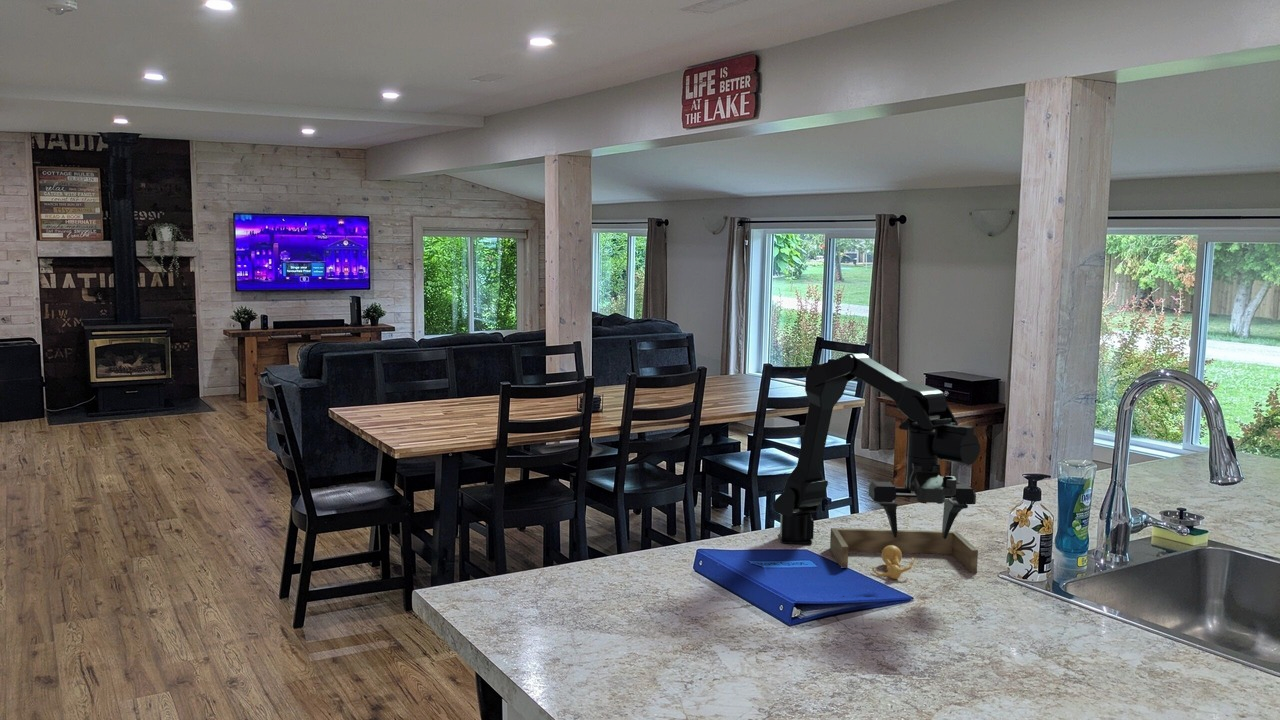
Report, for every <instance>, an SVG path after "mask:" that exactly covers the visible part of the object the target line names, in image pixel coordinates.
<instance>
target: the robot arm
mask: <svg viewBox="0 0 1280 720" xmlns="http://www.w3.org/2000/svg"><path fill="white" fill-rule="evenodd" d="M855 379H858V380H861V381H863V382H864V383H865V384H867V385H869V386H870V387H872V388H874V389H875V390H877V391H878V392H881V394H883V395H885V396H887V397H888V398H890V399H891V400H892V401H893V402H894V403H895V404H896V407H897V409H898V410H899V411H900V412H901V413H902V414H903V415H904V416H906V420H904V421H903V422H902V423H901V424H900V425H899V426H898V429H899V430H902V431H908V432H907V433H908V434H907V436H908V437H907V456H906V459H905V461H906V479H905V486H904V487H903V486H895V485H894V484H893V483H892V482H891V481H871V482H870V484H869V486H868V496H869V497H870V499H871V500H872V501H873V502H875V503H878V505H879V506H881V507H883V510H884V511H885V513H886V516H887V520H888V523H889V525H890V530H892V533H893V536H894V537H895V538H896V537H897V530H898V521H897V519H898V518H897V509H898V508H897V507H898V504H897V503H896V502H895V500H896V499H897V498H916V500H917V502H919V503H921V504H928V503H929V504H930V503H931V504H938V505H942V504H943V512H942V526H941V531H942V536H943V538H944V539H946V538H947V536H948V533H949V531H951V529H952V526H953V524H954V521H955V520H956V517H957V516H958V514H959V513H960V512H961V511H962V510H963V509H968V507H969V505H976V504H977V503H976V501H977V493H976V490H974V489H973V488H972V487H971V486H970V485H969V484H967V483H957V478H956V476H954V475H944V476H942V474H941V464H940V462H939V461H940V460H941V461H947V462H951V463H956V464H957V463H958V464H962V465H968V466H970V465H972V464H974V463H975V462H976V461H977V460H978V457H979V455H980V452H981V451H980V450H981V444H980V441H979V438H978V437H977V435H976V434H975V433H974V427H973V426H969V425H963V426H962V425H959V423H958V421H957V419H956V417H955V416H954V413H953V412H952V410H951V408H950V407H949V404H948V403H947V399H946V395H945V393H944V392H943V391H942V390H940V389H938V388H935V387H932V386H929V385H926V384H921V383H917V382H913V381H910V380H908V379H906V378H904V377H903V376H901V375H899V374H898V373H896V372H894V371H893V370H892V369H889V368H887V367H886V366H884V365H882V364H880V363H879V362H877V361H876V360H874V359H872V358H871V357H870V356H869V355H867V354H866V353H863V352H859V353H858V352H856V353H853V352H852V353H847V354H845V355H843V356H841V357H839V358H836V359H833V360H830V361H826V362H824V363H815V364H812V365H811V366H809V367H808V368H807V370H806V373H805V387H804V390H805V391H804V392H805V395H806V396H807V399H808V409H807V413H806V419H805V425H804V429H803V434H802V439H801V442H800V443H801V444H800V448H799V454H798V459H797V463H796V466H795V467H794V469H793V470H792V471H791V473H790V474H789V475H788V477H787V479H786V482H785V484H784V487H783V489H782V493H780V495H779V496H778V497H777V498H776V499H775V500H774V501H773V503H772V507H773V512H774V513H776V514H779V515H780V521H779V522H780V523H779V525H780V527H779V528H780V531H779V533H778V537H779V540H780V543H781V544H800V545H801V544H802V545H811V544H813V540H814V531H815V529H814V526H815V525H814V524H815V522H814V518H812V513H816V512H817V513H818V511H819V508H820V504H822V502H823V500H824V499H826V498H827V494H826V492H827V488H828V485H829V481H828V480H827V479H824V476H823V474H822V471H821V467H822V462H823V458H824V453H825V448H826V444H827V439H828V433H829V428H830V424H831V420H832V416H833V415H832V414H833V410H834V407H835V405H836V404H837V403H838V401H840V400H841V398H842V397H843V395H844V392H845V391H846V388H847V384H848V382H851V381H853V380H855Z"/></svg>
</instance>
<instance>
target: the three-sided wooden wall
mask: <svg viewBox="0 0 1280 720" xmlns="http://www.w3.org/2000/svg"><path fill="white" fill-rule="evenodd" d="M829 538H830V542H829V543H830V544H829V545H830V547H829V550H830V551H831V553H832V555H833V557H834V558H835V561H836V562H837V563H838V565H839V567H840V566H842V567H845V568H848V567H849V566H848V565H849V564H848V563H849V552H870V553H871V552H872V553H876V552H877V553H882V550H883V549H884V548H885V547H886V546H889V545H893V546H896V547H898V548H899V549H900V551H901V553H903V554H904V553H905V554H909V553H910V554H939V555H940V554H941V555H942V554H944V555H947V554H948V555H952V556H953V557H955V559H957V561H959V562H960V564H961V565H962V566H963V567H964V568H965V569H966V570H968V571H969V573H971V574H973V573H974V574H975V573H978V562H979V561H978V559H979V556H978V555H979V549H978V548H976V547H975V546H974V545H973V544H971V543H970V541H968V540H967V539H966V538H965V537H964V536H963V535H961V533H959V532H958V531H957V530H956V531H954V530H952V531H951V530H950V531H949V533H948V536H947V538H946V539H944V538H943V536H942V530H917V529H916V530H913V529H912V530H909V529H897V537H896V538H895V537H894V536H893V533H892V530H891V529H880V528H879V529H878V528H877V529H876V528H874V529H872V528H866V529H865V528H845V527H844V528H842V527H841V528H837V527H831V528H830V537H829ZM848 569H849V568H848Z"/></svg>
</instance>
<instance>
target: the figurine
mask: <svg viewBox="0 0 1280 720" xmlns="http://www.w3.org/2000/svg"><path fill="white" fill-rule="evenodd" d="M881 559H882V561H883V562H884V563H885V566H886V570H887V572H882V573H879V572H878V571H877V570H875V567H872V569H871V571H872V572H874V574H876V575H877V577H880V578H881V577H890V578H891V579H893V580H897V579H900V577H901V576H902V575H903V573H905V572H907V571H909V570H911V569H912V567H913V565H914V562H915V558H914V557H910V560H911V561H910V563H909V566H905V567H904V568H903V567H902V568H901V563H900V562H901V561H902V559H903V554H902V553H901V551H900V549H899V548H898V547H896V546H893V545H889V546H886V547H885V548H884V549H883V550H882V552H881Z"/></svg>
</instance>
